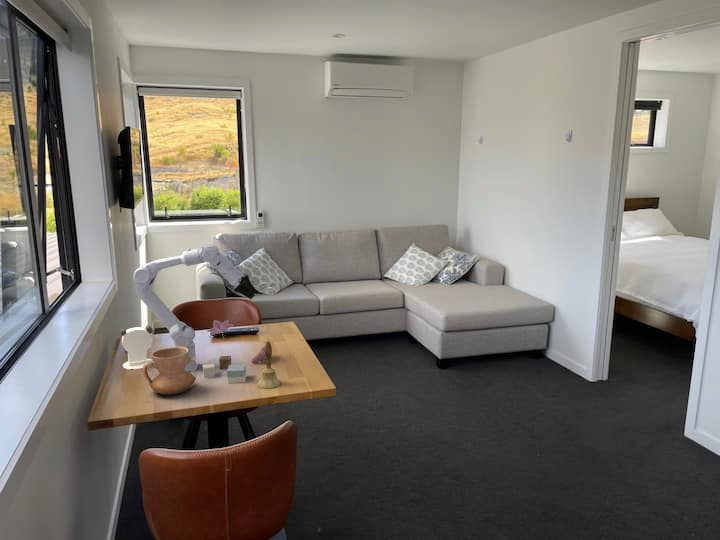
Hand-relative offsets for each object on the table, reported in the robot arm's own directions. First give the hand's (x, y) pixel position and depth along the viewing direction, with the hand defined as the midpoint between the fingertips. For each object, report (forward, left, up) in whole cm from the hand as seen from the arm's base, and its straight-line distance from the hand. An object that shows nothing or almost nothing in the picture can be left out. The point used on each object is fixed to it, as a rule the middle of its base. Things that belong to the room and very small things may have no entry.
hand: (253, 295), depth 208 cm
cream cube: (-17, -9, -29) cm, 34 cm away
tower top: (-6, -14, -26) cm, 30 cm away
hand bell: (+6, -20, -29) cm, 35 cm away
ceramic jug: (-28, -21, -29) cm, 45 cm away
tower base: (-6, -14, -29) cm, 33 cm away
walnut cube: (-12, -1, -29) cm, 31 cm away
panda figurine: (-47, +7, -29) cm, 56 cm away
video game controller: (+2, +5, -29) cm, 29 cm away
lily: (-19, +36, -29) cm, 50 cm away
